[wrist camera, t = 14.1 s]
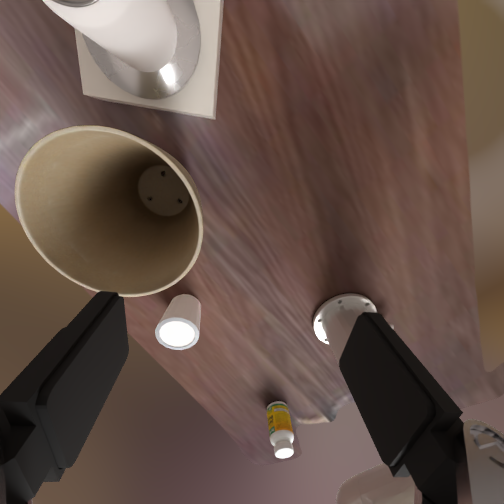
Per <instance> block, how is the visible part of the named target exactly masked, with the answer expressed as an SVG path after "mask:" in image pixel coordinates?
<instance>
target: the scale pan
mask: <svg viewBox="0 0 504 504" xmlns="http://www.w3.org/2000/svg"><path fill="white" fill-rule="evenodd" d="M167 2H168V4H169V6H170V9H171V11H172V14H173V17H174V20H175V24H176V29H177V44H176V49H175V52H174V55H173V57H172V59H171V60H170V62H169V63H168V64H167V65H166V66H165V67H164V68H162V69H160V70H158V71H155V72H142V71H139V70H136V69H134V68H132V67H131V66H129V65H127V64H126V63H124V62H123V61H121V60H120V59H119V58H117V57H116V56H114V55H113V54H111V53H110V52H108V51H107V50H106V49H104V48H103V47H101V46H100V45H98V44H97V43H96V42H94V41H93V40H91V39H90V38H89V37H87V36H86V35H84V34H83V33H82V35H83V38H84V41H85V43H86V46H87V48H88V50H89V52H90V54H91V56H92V58H93V59H94V61H95V63H96V64H97V66H98V67H99V68H100V69H101V71H102V72H103V73H104V74H105V75H106V76H107V77H108V79H110V80H111V81H112V82H113V83H114V84H115V85H117V86H118V87H120V88H121V89H122V90H124V91H126V92H128V93H130V94H132V95H135V96H137V97H140V98H144V99H150V100H160V99H165V98H168V97H171V96H173V95H175V94H177V93H178V92H180V91H181V90H182V89H183V88H184V87H185V86H186V85H187V84H188V83H189V81H190V80H191V78H192V77H193V75H194V73H195V71H196V68H197V65H198V62H199V58H200V52H201V30H200V24H199V19H198V15H197V11H196V8H195V5H194V2H193V0H167Z"/></svg>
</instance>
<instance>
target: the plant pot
mask: <svg viewBox="0 0 504 504" xmlns="http://www.w3.org/2000/svg"><path fill="white" fill-rule="evenodd" d="M162 172H164V173H165V175H164V176H163V175H162V174H161V173H162ZM149 198H152V200H149ZM179 199H181V201H182V202H179V201H178V200H179ZM15 203H16V209H17V213H18V216H19V219H20V222H21V224H22V227H23V229H24V231H25V233H26V235H27V236H28V238H29V240H30V241H31V243H32V244H33V246H34V247H35V249H36V250H37V251H38V252H39V253H40V254H41V256H42V257H43V258H44V259H45V260H46V261H47V262H48V263H49V264H50V265H51V266H52V267H53V268H54V269H56V270H57V271H58V272H59V273H61V274H62V275H64V276H65V277H67V278H68V279H70V280H72V281H73V282H75V283H77V284H79V285H81V286H83V287H85V288H88V289H90V290H93V291H96V292H99V291H108V292H117V293H118V294H119V296H123V297H137V296H145V295H150V294H153V293H157V292H160V291H162V290H165V289H167V288H169V287H171V286H172V285H174V284H175V283H177V282H178V281H179V280H181V279H182V278H183V277H184V276H185V275H186V274H187V273H188V272H189V270H190V269H191V268H192V266H193V265H194V263H195V261H196V259H197V257H198V254H199V252H200V248H201V244H202V238H203V214H202V206H201V200H200V196H199V193H198V190H197V187H196V185H195V183H194V181H193V179H192V178H191V176H190V174H189V173H188V172H187V170H186V169H185V168H184V167H183V166H182V165H181V164H180V163H179V162H178V161H177V160H176V159H175V158H174V157H172V156H171V155H170V154H168V153H167V152H165V151H164V150H162V149H161V148H159V147H157V146H155V145H154V144H152V143H150V142H148V141H146V140H143V139H141V138H139V137H137V136H135V135H132V134H130V133H127V132H124V131H121V130H118V129H115V128H110V127H105V126H96V125H83V126H73V127H67V128H64V129H60V130H57V131H55V132H53V133H50V134H48V135H47V136H45V137H43V138H42V139H40V140H39V141H38V142H37V143H35V144H34V145H33V146H32V147H31V148H30V150H29V151H28V152H27V154H26V155H25V157H24V158H23V160H22V162H21V164H20V166H19V169H18V172H17V176H16V181H15Z"/></svg>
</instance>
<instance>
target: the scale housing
mask: <svg viewBox="0 0 504 504" xmlns="http://www.w3.org/2000/svg"><path fill="white" fill-rule="evenodd" d="M193 2H194V5H195V8H196V11H197V15H198V19H199V24H200V30H201V52H200V58H199V62H198V65H197V68H196V71H195V73H194V75H193V77H192V78H191V80H190V81H189V83H188V84H187V85H186V86H185V87H184V88H183V89H182V90H181V91H180V92H178V93H177V94H175V95H173V96H171V97H168V98H165V99H160V100H150V99H144V98H140V97H137V96H135V95H132V94H130V93H128V92H126V91H124V90H122V89H121V88H120V87H118V86H117V85H115V84H114V83H113V82H112V81H111V80H110V79H108V77H107V76H106V75H105V74H104V73H103V72H102V71H101V69H100V68H99V67H98V66H97V64H96V63H95V61H94V59H93V58H92V56H91V54H90V52H89V50H88V48H87V46H86V43H85V41H84V38H83V35H82V33H81V32H80V31H79V30H77V29H76V28H74V29H75V36H76V43H77V51H78V59H79V66H80V74H81V82H82V89H83V95H87V96H90V97H93V98H96V99H100V100H103V101H109V102H115V103H121V104H127V105H133V106H139V107H144V108H150V109H156V110H162V111H168V112H174V113H180V114H185V115H191V116H197V117H203V118H209V119H215V118H216V104H217V90H218V75H219V61H220V47H221V33H222V19H223V5H224V0H193Z"/></svg>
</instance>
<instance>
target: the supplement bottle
mask: <svg viewBox="0 0 504 504" xmlns="http://www.w3.org/2000/svg"><path fill="white" fill-rule="evenodd" d="M267 417H268V426H269V435H270V441H271V443H272V444H273V445H274V451H275V456H276V457H278V458H288V457H290V456H292V455H293V452H294V451H293V445H292V442H293V440H294V435H293V430H292V425H291V420H290V415H289V410H288V406H287V405H286V404H285V403H284V402H281V401H276V402H273V403H271V404H269V405H268V407H267Z"/></svg>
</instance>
